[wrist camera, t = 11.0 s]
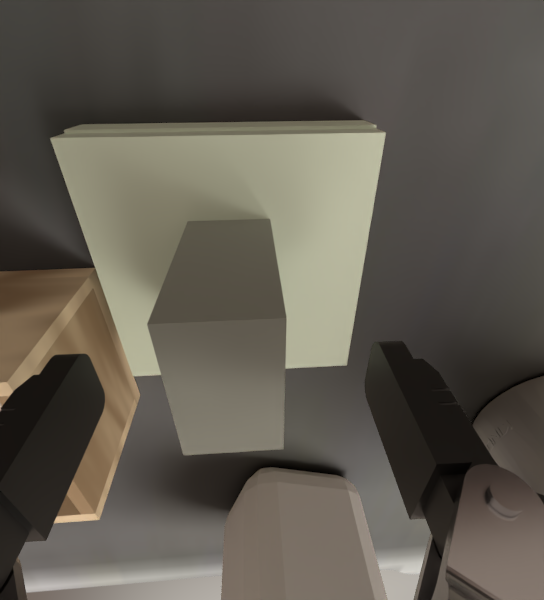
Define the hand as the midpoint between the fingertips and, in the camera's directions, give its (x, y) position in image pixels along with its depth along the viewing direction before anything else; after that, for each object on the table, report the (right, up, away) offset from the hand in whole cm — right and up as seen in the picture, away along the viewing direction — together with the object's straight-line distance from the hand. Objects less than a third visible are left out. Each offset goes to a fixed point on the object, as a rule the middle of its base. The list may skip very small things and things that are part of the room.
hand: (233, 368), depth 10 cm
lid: (-1, +4, +6) cm, 7 cm away
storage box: (-12, 0, +8) cm, 14 cm away
